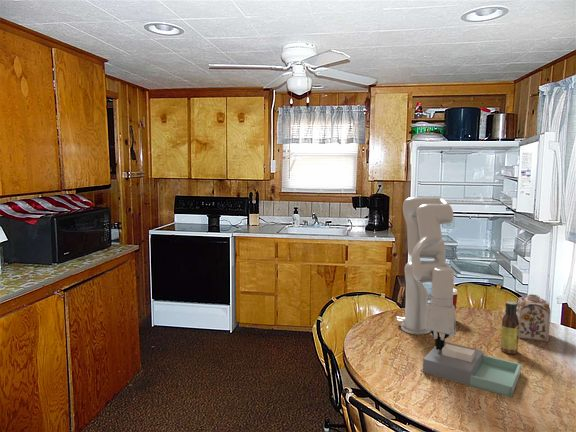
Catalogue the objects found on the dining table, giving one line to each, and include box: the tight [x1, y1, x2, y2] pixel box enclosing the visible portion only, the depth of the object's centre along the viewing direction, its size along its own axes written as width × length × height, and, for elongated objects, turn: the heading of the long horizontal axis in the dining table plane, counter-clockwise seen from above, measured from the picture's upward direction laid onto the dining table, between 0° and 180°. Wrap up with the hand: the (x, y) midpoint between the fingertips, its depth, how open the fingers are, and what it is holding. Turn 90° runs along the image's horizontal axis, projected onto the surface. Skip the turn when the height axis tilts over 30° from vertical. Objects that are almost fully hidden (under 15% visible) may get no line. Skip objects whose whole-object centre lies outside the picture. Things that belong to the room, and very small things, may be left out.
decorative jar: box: [515, 293, 551, 343], centre depth 186 cm, size 12×12×18 cm
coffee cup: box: [453, 287, 459, 312], centre depth 205 cm, size 8×8×15 cm
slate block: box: [422, 341, 485, 387], centre depth 156 cm, size 16×20×5 cm
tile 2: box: [456, 347, 475, 362], centre depth 153 cm, size 5×5×2 cm
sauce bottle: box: [500, 301, 520, 355], centre depth 169 cm, size 7×6×20 cm
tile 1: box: [442, 344, 460, 358], centre depth 156 cm, size 5×5×2 cm
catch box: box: [469, 354, 522, 398], centre depth 147 cm, size 12×20×4 cm, turn 144°
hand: (439, 348), depth 158 cm, fingers closed
